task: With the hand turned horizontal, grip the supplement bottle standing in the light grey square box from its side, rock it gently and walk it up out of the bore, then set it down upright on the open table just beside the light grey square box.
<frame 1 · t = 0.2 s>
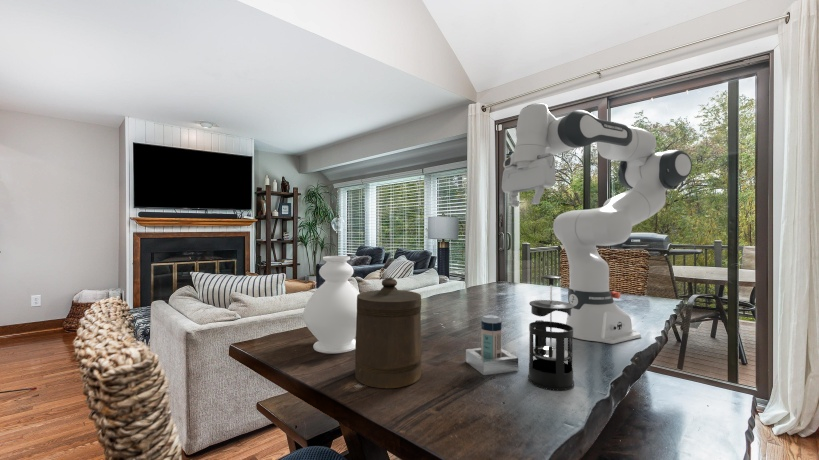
hand: (524, 205, 108), 40 cm above the table, tool pointing down, fingers open, 8 cm apart
supplement bottle: (491, 366, 89), resting in light grey square box
light grey square box: (491, 365, 89), on the table
decorative vase: (336, 346, 104), on the table
wooden container: (388, 375, 84), on the table
french press: (549, 381, 81), on the table
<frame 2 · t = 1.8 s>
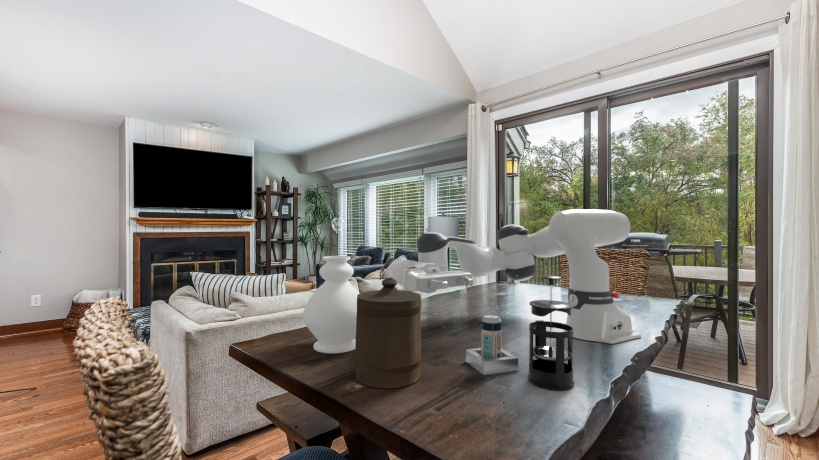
hand: (458, 284, 99), 18 cm above the table, tool horizontal, fingers open, 8 cm apart
nothing on the table moved.
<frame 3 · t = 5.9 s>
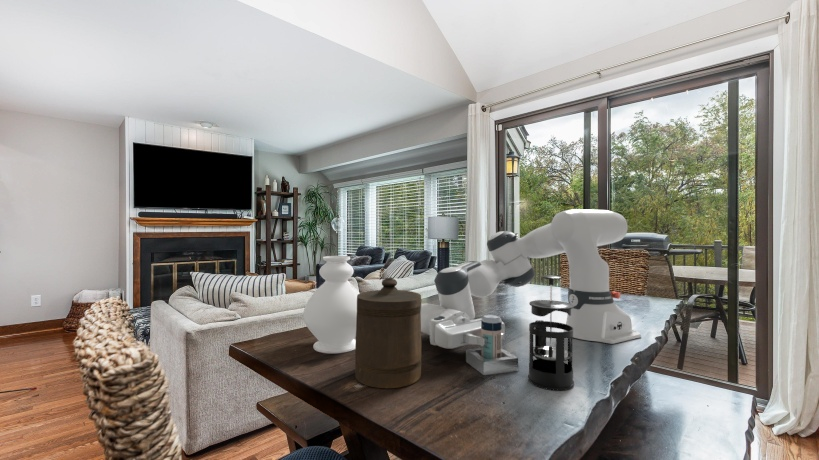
hand: (494, 339, 89), 7 cm above the table, tool horizontal, fingers closed on supplement bottle, 5 cm apart
supplement bottle: (491, 366, 89), resting in light grey square box, touching gripper
everything else where it was.
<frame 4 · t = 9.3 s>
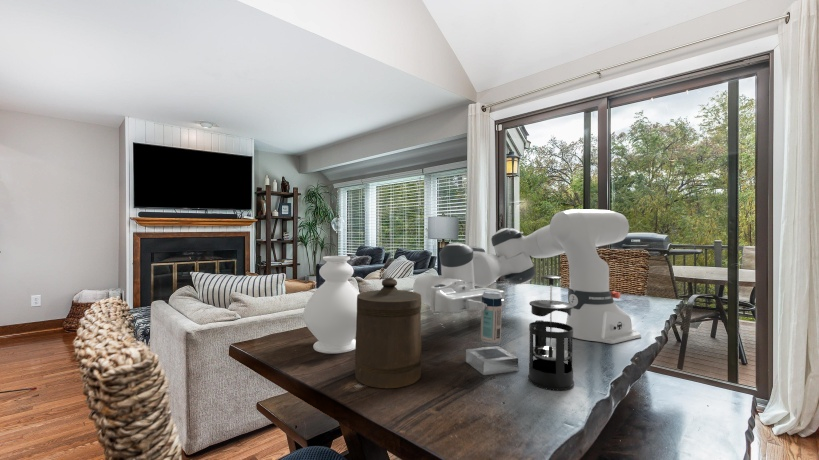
hand: (494, 305, 89), 15 cm above the table, tool horizontal, fingers closed on supplement bottle, 5 cm apart
supplement bottle: (490, 342, 90), point 6 cm above the table, touching gripper
everything else where it was.
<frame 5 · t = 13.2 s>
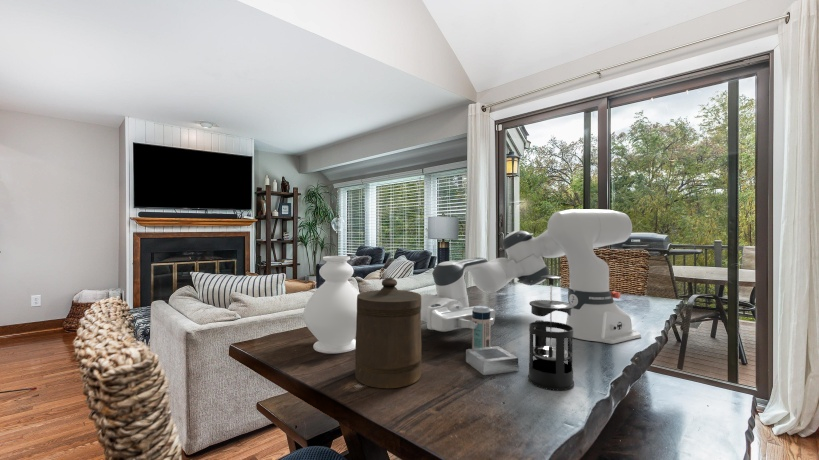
hand: (484, 323, 99), 8 cm above the table, tool horizontal, fingers closed on supplement bottle, 5 cm apart
supplement bottle: (481, 352, 100), on the table, touching gripper
everything else where it was.
when the fingers open (7 cm above the table, at t = 13.8 s): supplement bottle stays where it is, on the table.
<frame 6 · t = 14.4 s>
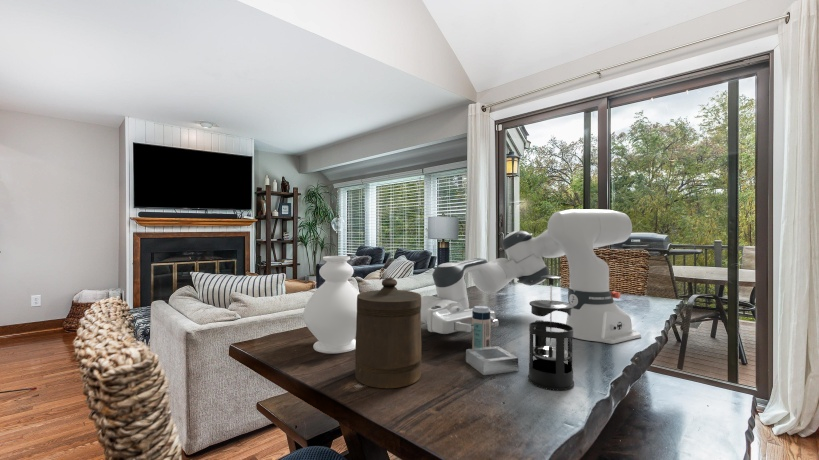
hand: (484, 326, 99), 7 cm above the table, tool horizontal, fingers open, 8 cm apart
supplement bottle: (481, 352, 100), on the table
everything else where it was.
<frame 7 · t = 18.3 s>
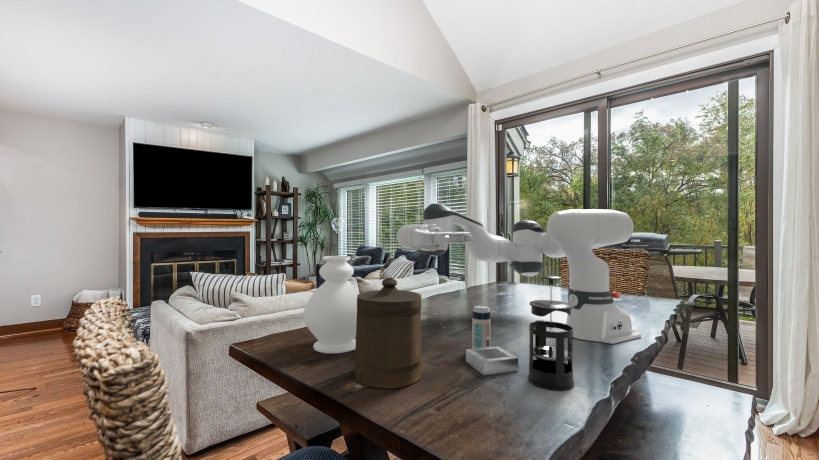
hand: (459, 238, 110), 30 cm above the table, tool horizontal, fingers open, 8 cm apart
nothing on the table moved.
at the end: supplement bottle touching table; supplement bottle inside the target area (0.4 cm from its centre), on the table; supplement bottle tilted 0° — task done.
